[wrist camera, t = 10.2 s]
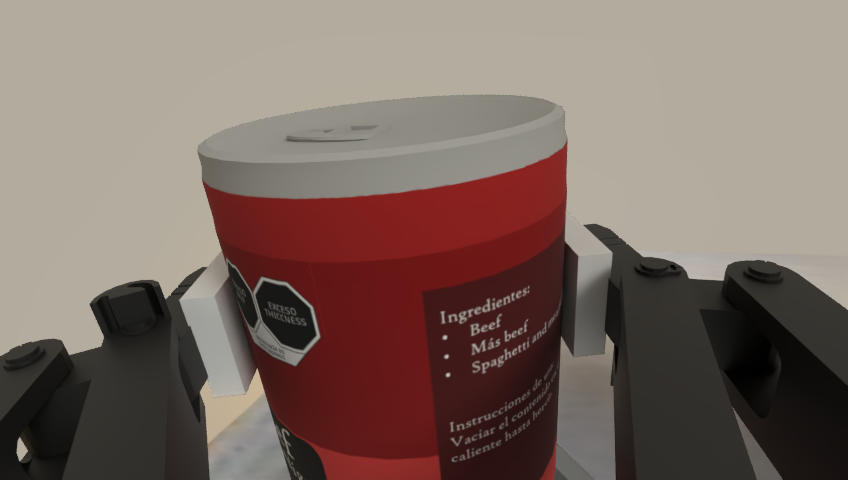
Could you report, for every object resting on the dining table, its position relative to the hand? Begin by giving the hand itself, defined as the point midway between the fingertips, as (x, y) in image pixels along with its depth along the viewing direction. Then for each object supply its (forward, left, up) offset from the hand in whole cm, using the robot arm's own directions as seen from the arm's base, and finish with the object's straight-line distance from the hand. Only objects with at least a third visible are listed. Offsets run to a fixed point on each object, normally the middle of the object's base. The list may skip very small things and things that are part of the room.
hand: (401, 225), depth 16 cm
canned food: (+2, +4, -7) cm, 8 cm away
